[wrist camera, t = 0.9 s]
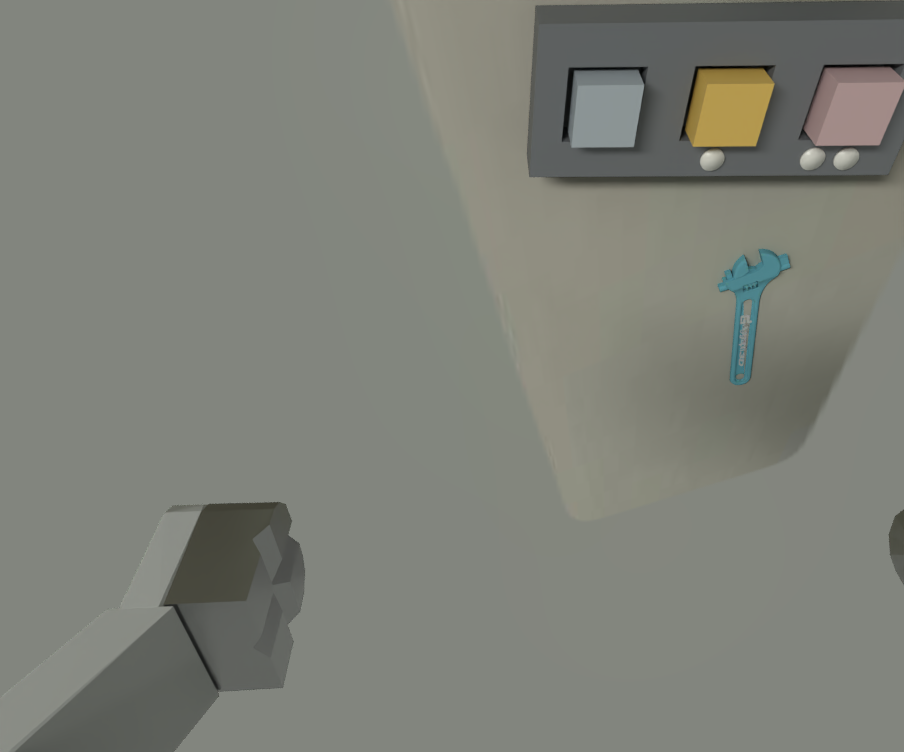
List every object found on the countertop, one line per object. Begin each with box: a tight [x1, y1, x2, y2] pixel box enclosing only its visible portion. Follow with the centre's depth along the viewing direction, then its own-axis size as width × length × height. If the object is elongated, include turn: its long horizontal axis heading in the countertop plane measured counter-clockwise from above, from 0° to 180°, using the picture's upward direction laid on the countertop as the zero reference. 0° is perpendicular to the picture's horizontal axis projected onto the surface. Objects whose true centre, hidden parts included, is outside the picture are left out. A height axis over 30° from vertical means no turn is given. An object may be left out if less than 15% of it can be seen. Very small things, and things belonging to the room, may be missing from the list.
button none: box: [568, 69, 644, 148], centre depth 40 cm, size 4×4×2 cm
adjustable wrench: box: [718, 249, 790, 385], centre depth 56 cm, size 14×1×5 cm
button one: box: [685, 68, 775, 147], centre depth 40 cm, size 4×4×2 cm
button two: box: [803, 66, 904, 146], centre depth 40 cm, size 4×4×2 cm
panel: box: [527, 1, 904, 177], centre depth 41 cm, size 22×9×3 cm, turn 91°
